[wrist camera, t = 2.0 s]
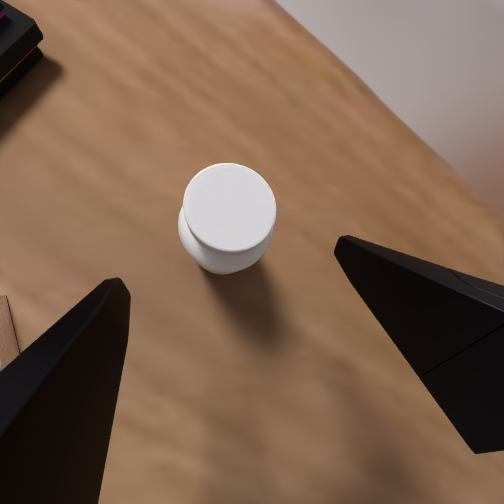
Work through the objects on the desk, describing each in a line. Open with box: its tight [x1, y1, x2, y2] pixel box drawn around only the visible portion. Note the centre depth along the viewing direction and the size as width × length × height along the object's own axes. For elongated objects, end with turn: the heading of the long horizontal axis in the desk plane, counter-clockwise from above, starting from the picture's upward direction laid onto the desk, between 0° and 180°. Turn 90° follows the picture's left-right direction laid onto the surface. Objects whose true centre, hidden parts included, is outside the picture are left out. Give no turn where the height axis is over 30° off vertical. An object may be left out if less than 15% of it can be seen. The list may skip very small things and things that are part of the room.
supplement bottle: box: [178, 163, 276, 275], centre depth 13 cm, size 5×5×10 cm
